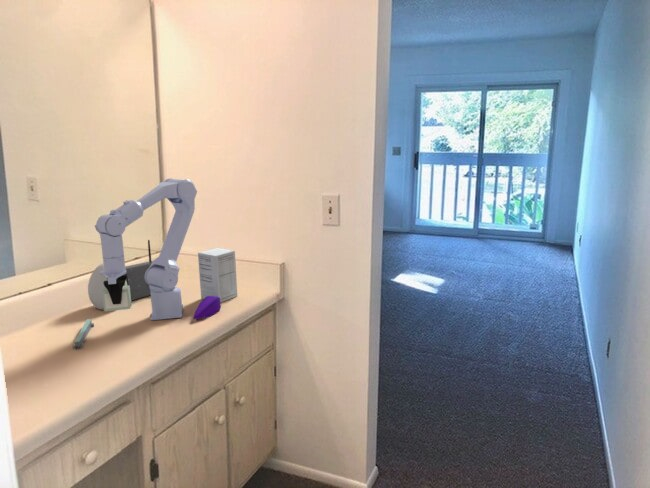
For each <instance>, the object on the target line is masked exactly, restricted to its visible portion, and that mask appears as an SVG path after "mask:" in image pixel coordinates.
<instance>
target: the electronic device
mask: <svg viewBox="0 0 650 488" xmlns="http://www.w3.org/2000/svg"><path fill="white" fill-rule="evenodd" d="M150 242H151V241H150V239H147V247H148V248H147V250H148V261H145V262H141V263H137V264H130V265H125V269H126V274H127V278H126V282H127V286H129V285H130V295H131V301H134V300H139V299H141V298H145V297H149V296H150V297H151V292H150V288H149V284H147V283H146V281H145V272H146V271H147V269H148V268H149V267H150V266H151V264H152V261H153V260H152V253H151V243H150Z"/></svg>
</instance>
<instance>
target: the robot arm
mask: <svg viewBox="0 0 650 488" xmlns="http://www.w3.org/2000/svg"><path fill="white" fill-rule="evenodd" d="M197 194H198V190H197V188H196V186H195V184H194V182H193V181H192V180H190V179H187V178H186V179H178V178H177V179H176V178H175V179H174V178H170V177H169V178H167V179H165V180H164V181H161V182H159V184H158V185H157V186H156V187H154V188H152V189H151V190H150V191H148V192H147V193H146V194H144V195H143V196H141V197H140V198H139V199H137V200H134V199H130V200H125V201H123V204H122V205H121V206H119V207H117V208H115V209H112V210H111V209H110V211H109V214H102V215H100V216H99V217H98V218H97V220H96V224H95V225H94V227H95V228H94V229H95V231H96V232H97V233H98V234H99V236H100V237H99V238H100V244H101V245H100V246H101V254H102V263H103V264H104V271H101V272H100V275H104V276H106V277H107V279H108V281H104V282H103V283H104V286H105V287H106V289H107V290H108V292H109V294H110V297H111V300H112V303H113V304H121V301H122V289H123V286H124V285H125V281H126V278H127V274H126V269H125V266H126V263H125V262H126V261H125V251H124V250H125V249H124V243H123V241H124V240H123V234H124V232H125V231H126V229H127V227H128V226H130V225H131V224H133V223H134V222H136V221H137V220H139V219H140V218H142V217H143V216H144V211H145V210H147V209H148V208H150V207H152V206H154V205H156V204H157V203H159V202H160V201H162V200H164V199H167V201H169V202H170V203H171V205H172V206H173V208H174V210H175V213H174V214H173V217H172V220H171V223H170V226H169V228H168V231H167V234H166V236H165V239H164V242H163V244H162V248H161V250H160V252H159V255H158V257H156V258H155V259H154V260H151V261H152V264H151V266H150V267H149V268H148V269H147V271H146V272H145V281H146V283H147V284H149V288H150V292H151V295H150V303H151V304H150V305H151V315H150V321H158V320H159V321H161V320H167V319H168V320H170V319H179V318H182V317H183V311H184V304H183V301H182V290H181V287H178V286H177V285H178V282H179V272H180V266H179V265H178V263H177V261H178V258H179V255H180V252H181V250H182V246H183V244H184V241H185V238H186V236H187V233H188V230H189V227H190V225H191V222H192V219H193V216H194V212H195V209H196V207H195V206H196V204H195V202H196V201H195V200H196V196H197ZM176 286H177V287H176Z"/></svg>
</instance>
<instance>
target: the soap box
mask: <svg viewBox="0 0 650 488" xmlns="http://www.w3.org/2000/svg"><path fill="white" fill-rule="evenodd" d="M102 295H103V304H104V310H103V311H104V312H112V311H115V312H116V311H122V310H130V309H131V307H132V300H131V295H130V285H129V286H123V289H122V301H121V304H113V303H112V300H111V297H110V294H109V292H108V290H107V289H106V288H104V289H103V291H102Z"/></svg>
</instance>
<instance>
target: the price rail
mask: <svg viewBox="0 0 650 488" xmlns="http://www.w3.org/2000/svg"><path fill="white" fill-rule="evenodd" d="M84 322H85V323H84V324H83V325H82V327H81V329H80V330H79V333H78V334H77V336H76V338H75V340H74V344H73V345H72V350H81V349H84V342H86V341H85V340H86V339H87V337H88V334H89V333H90V331H91V328H94V327H95V322H93V321H92V318H87V319H86V320H85V321H84Z"/></svg>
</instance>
